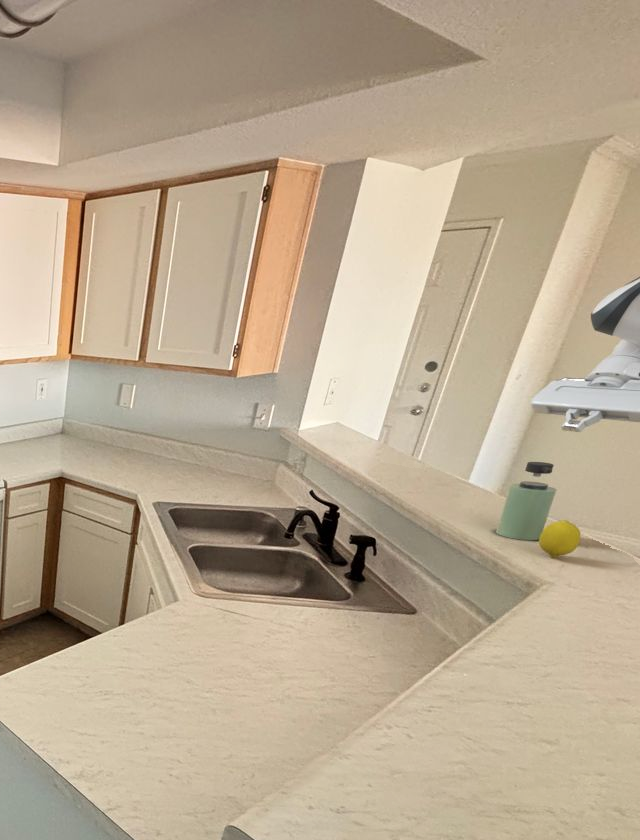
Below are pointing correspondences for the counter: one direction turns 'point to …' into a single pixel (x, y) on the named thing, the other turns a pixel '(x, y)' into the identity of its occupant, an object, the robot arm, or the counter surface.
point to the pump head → (539, 468)
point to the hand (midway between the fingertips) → (570, 429)
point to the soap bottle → (526, 510)
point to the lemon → (559, 538)
